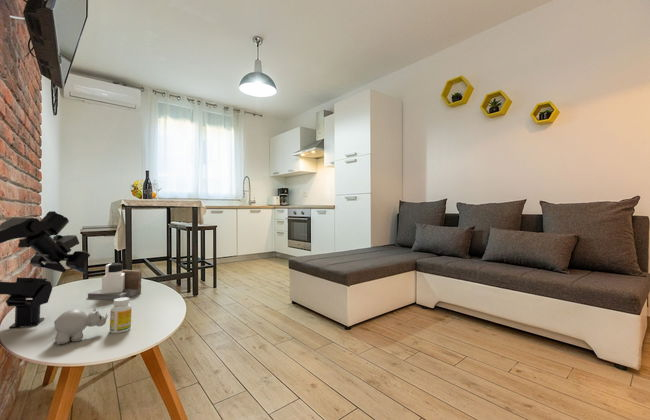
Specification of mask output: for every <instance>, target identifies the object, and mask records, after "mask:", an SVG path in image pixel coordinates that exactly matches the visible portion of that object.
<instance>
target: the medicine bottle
mask: <svg viewBox="0 0 650 420" xmlns="http://www.w3.org/2000/svg"><path fill="white" fill-rule="evenodd" d="M123 268H124V267H123V263H120V262H112V263H108V264H106V265H105V271H104V272H105V275H103V276H102V277H101V290H102V294H109V293H120V292H122V291H123V290H124V288H125V273H122V272H123V270H124V269H123Z"/></svg>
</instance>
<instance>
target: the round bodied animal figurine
mask: <svg viewBox="0 0 650 420" xmlns="http://www.w3.org/2000/svg"><path fill="white" fill-rule="evenodd" d="M108 317H109V315H108V313H107V312H106V313H105V315H102V314H101V313H100V312H99V310H97V308H94V309H93V311H91V312H88V313H86V312H84V311H83V310H81V309H70V310H66V311H64V312H63V313H61V314H60V315H59V316H58V317H57V318H56V319H55V320H54V323H53V324H54V330H55V332H56V334H55V336H54V340H55V342H56V343H57V345H64V344H66V343H69V342H70V341H71V342H79V341H82V340H83V339H84V333H83V331H84V330H85V329H86V328H87V327H96V326H97V327H103V326H104V325H106V323H107V319H108Z"/></svg>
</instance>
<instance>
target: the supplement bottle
mask: <svg viewBox="0 0 650 420" xmlns="http://www.w3.org/2000/svg"><path fill="white" fill-rule="evenodd" d="M129 303H130V297H128V298H127V297H123V298H117V299H115V300H113V306H111V308H110V311H109V313H110V314H109V315H110V316H109V332H110V333H111V334H120V333H125V332H127V331H129V330H131V327H132V325H131V324H132V305H131V304H129Z"/></svg>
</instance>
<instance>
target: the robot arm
mask: <svg viewBox="0 0 650 420" xmlns="http://www.w3.org/2000/svg"><path fill="white" fill-rule="evenodd" d="M69 221H70V220H69V219H68V218H67V217H66V216H64V215H62V214H60V213H57V212H56V211H54V210H53V211H50V210H49V211H48V212H47V213H46V214H45V216H43V217H42V219H41V220H39V219H38V217H30V216H29V217H25V216H24V217H23V216H20V217H19V216H16V217H11V218H8V219H7V220H5V221H3V222H2V223H0V244H3V243H5V242H8V241H11V240H15V239H19V240H18V245H17V248H19V249H20V248H30V249H32V250H34V251H35V253H34V255H33V256H32V258H30V261H29V264H30V265H32V266H33V267H37V268H40V269H46V270H51V271H55V272H60V273H66V271H67V269H66V267H68V268H69V269H70V270H72V271H74V272H75V271H76V272H79V273H82V274H87V273H88V272H89V271H88V267H87V264H86V261H87V260H88V258H90V256H91V254H90V253H89V251H87V250H75V251H74V252H73V253H72V254H71V253H70V252H71V251H72V249H73V247H75V246H78V245H79V244H80V241H79V238H78V236H77V235H76V234H71V235H69V234H67V235H62V234H61V235H60V233H61V231H62V230H63V229H64V228H65V227H66V226H67V225H68V224H69V223H70V222H69ZM62 261H63V262H65V266H66V267H64V265H63V264H62V263H61V262H62ZM52 291H53V285H52V282H51V281H49V280H48V278H42V277H40V278H36V277H16V280H15V281H14V282H11V281H9V282H8V281H0V295H9V296H8V298H6V300H5V303H6V306H7V307H15V308H14V323H12V324H11V325H9V327H8V329H16V328H25V327H33V326H38V325H39V324H40V323H42V322H43V321H44V320H45V317H41V305H44V304H48V303H49V300H50V297H51V294H52Z"/></svg>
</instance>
